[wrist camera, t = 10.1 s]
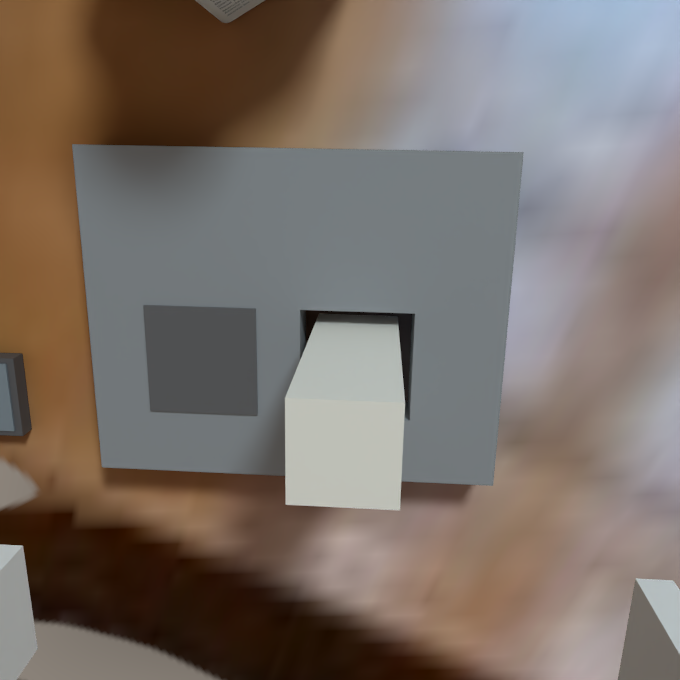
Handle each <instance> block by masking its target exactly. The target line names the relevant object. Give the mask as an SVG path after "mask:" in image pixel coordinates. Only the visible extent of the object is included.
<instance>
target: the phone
mask: <svg viewBox="0 0 680 680" xmlns="http://www.w3.org/2000/svg"><path fill="white" fill-rule="evenodd" d="M31 429H32V428H31V420H30V412H29V404H28V396H27V388H26V380H25V371H24V363H23V355H22V354H20V353H0V435H12V436H24V435H25V434H26V433H27V432H29V431H30V430H31Z"/></svg>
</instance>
